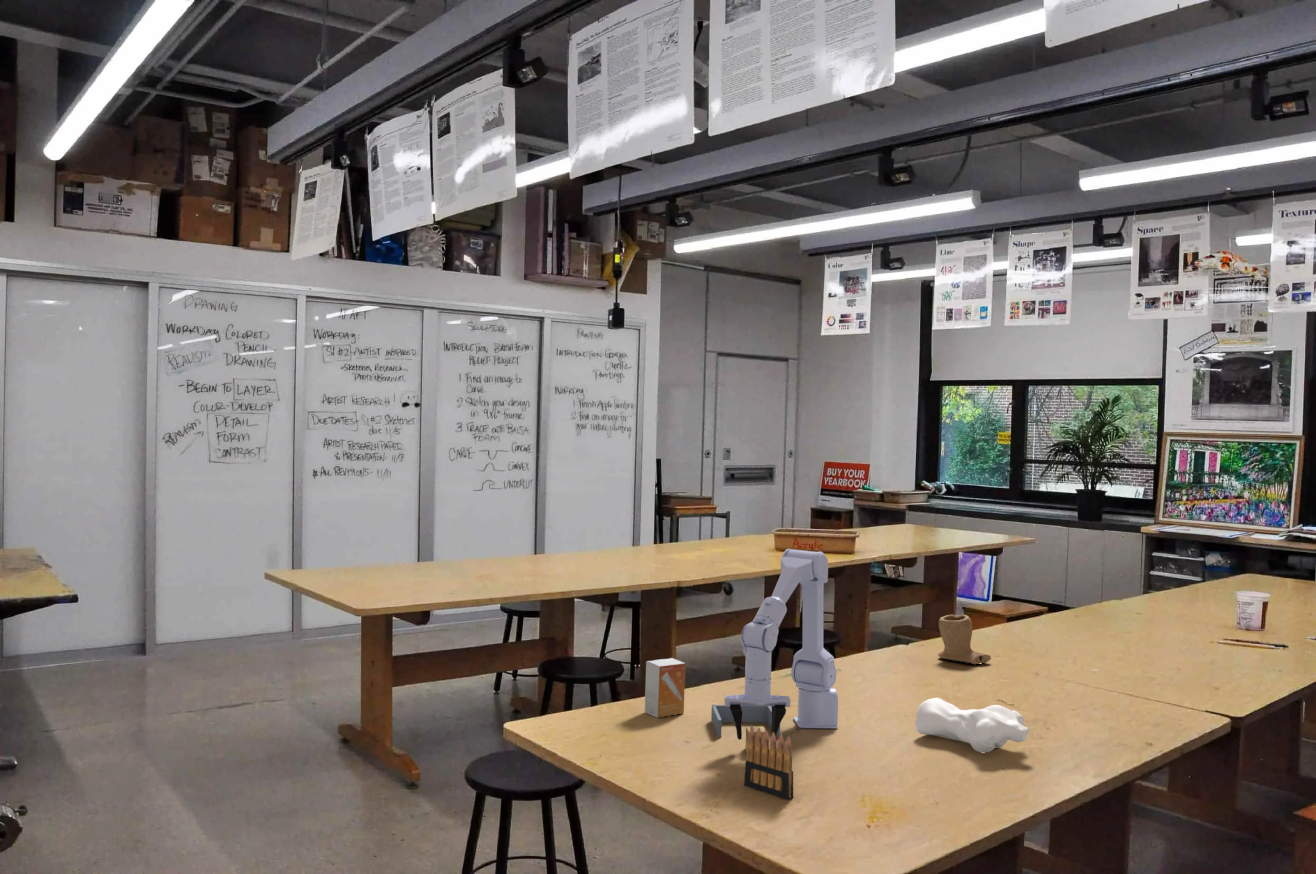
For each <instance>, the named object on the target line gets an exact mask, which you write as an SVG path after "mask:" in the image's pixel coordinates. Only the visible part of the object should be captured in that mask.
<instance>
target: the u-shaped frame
mask: <svg viewBox="0 0 1316 874" xmlns="http://www.w3.org/2000/svg"><path fill="white" fill-rule="evenodd" d="M741 710H742V723H767V724H768V726H769V728H770V729H771V726H772V708H771V706H741ZM710 721H711V725H712V727H713V728H714V731H715V733H716V737H717V736H718V737H717V738H722V728H723V727H722V726H723V725H722V724H723V723H735V722H734V718H733V715H732V713H731V710H730V708H729V707H726V706H725V704H711V720H710ZM780 734H781V724H780V725H779V728H778V731H777V735H776V739H779V736H780Z"/></svg>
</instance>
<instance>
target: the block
mask: <svg viewBox="0 0 1316 874" xmlns="http://www.w3.org/2000/svg"><path fill="white" fill-rule="evenodd" d="M751 726H753V725H750V726H747V725H746V726H745V746H744V747H745V748H746V749H745V751H746V752H747V747H748V740H749V732H750V728H751ZM758 728H760V731H761V736H762V746H763V737H764V733H765V730H766V728H765V726H753V729H754V735H755V742H756V734H757V730H758Z"/></svg>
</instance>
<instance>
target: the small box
mask: <svg viewBox="0 0 1316 874" xmlns="http://www.w3.org/2000/svg"><path fill="white" fill-rule="evenodd" d="M685 684H686V662H683V661H681V660H678V659H675V658H673V657H669V658H661V659H654V660H647V661H645V686H644V687H645V692H644V713H645V714H648V715H650V716H653V717H654V718H657V719H660V717H661V718H665V716H667V717H672V716H671V715H674V716H678V715H677V714H682V715H684V714H685V713H684V712H685V710H684V709H685V691H686V690H685V687H686V685H685Z"/></svg>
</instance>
